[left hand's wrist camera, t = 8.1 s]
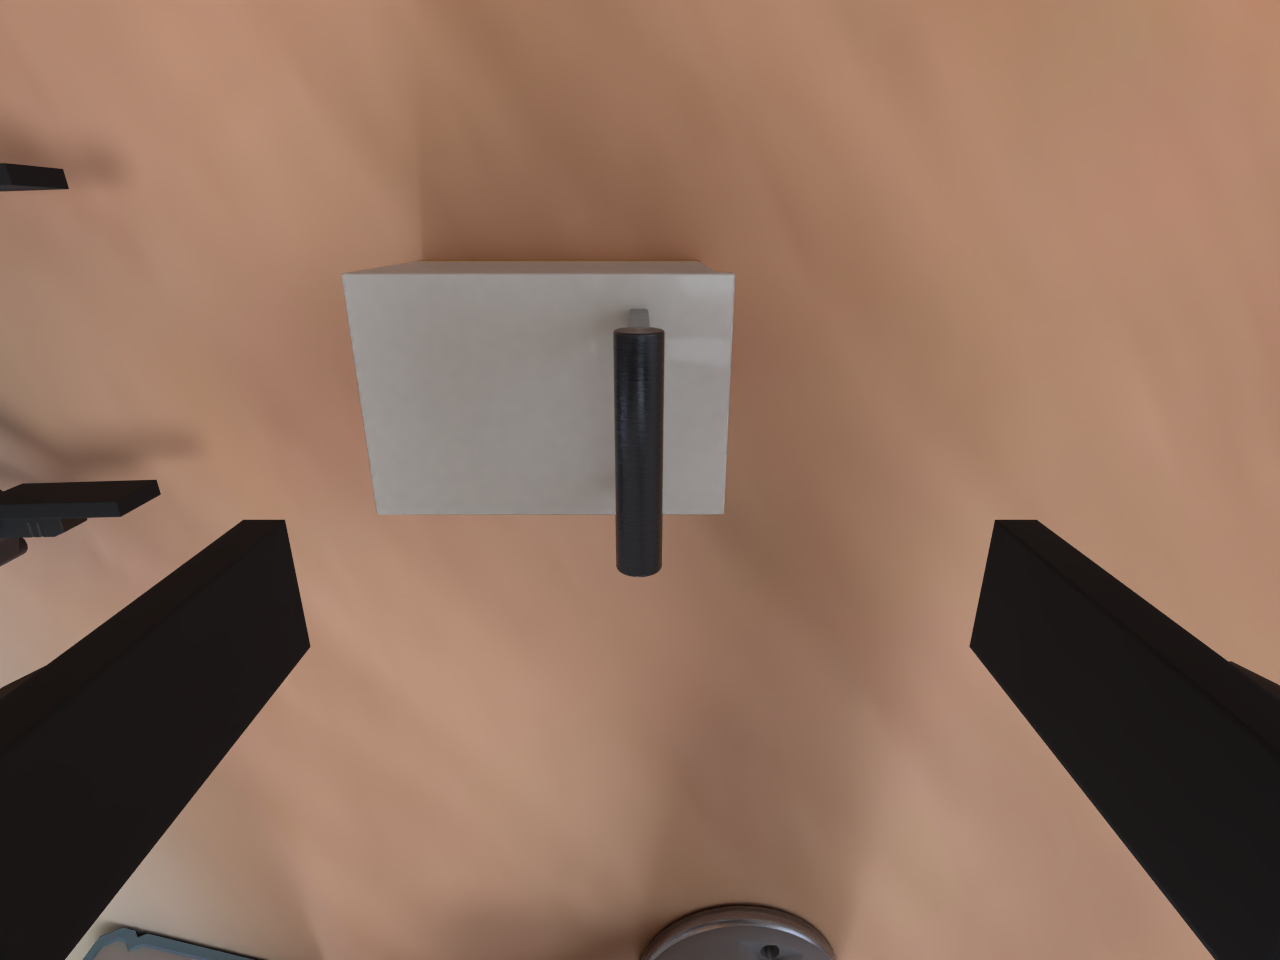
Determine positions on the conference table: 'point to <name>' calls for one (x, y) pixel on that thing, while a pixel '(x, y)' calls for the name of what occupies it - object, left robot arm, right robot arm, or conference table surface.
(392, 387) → the lid
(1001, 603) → the left robot arm
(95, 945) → the book
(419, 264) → the chest
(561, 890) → the conference table surface
